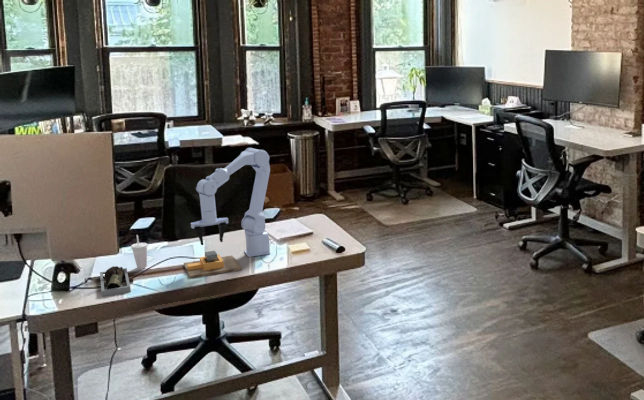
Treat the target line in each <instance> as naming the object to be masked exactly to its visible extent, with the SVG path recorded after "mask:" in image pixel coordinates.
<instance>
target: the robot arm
mask: <svg viewBox="0 0 644 400" xmlns="http://www.w3.org/2000/svg"><path fill="white" fill-rule="evenodd" d="M244 166H251V167H252V169H253V170H254V171H255V177H254V178H255V179H254V183H253V187H252V193H251V198H250V203H249V209H248V210H247V211H246V212H244V217H243V218H242V219H241V225H240V226H241V228H242V229H243V230H244V233H245V246H246V249H245V250H243V252H244V253H245V255H246V256H247V257H248V258H251V257H257V256H263V255H270V254H271V250H270V237H269V234H268V231H266V230H265V229H266V221H265V220H266V216H265V214H264V212H263V209H264V205H265V204H264V203H265V199H266V193H267V191H268V190H267V189H268V183H269V178H270V174H271V165H270V155H269V153H268V152H267V151H266V150H264V149H257V148H253V147H247V148H245V150H244V151H243V150H242V151H241V152H240V154H239V155H238V156H237V157H236V158H235V159H233V161H232V162H230V163H229V164H227V165H226V166H225V167H224V168H222V167H220V168H219V167H217V168H216V169H215V171H214V172H213V173H211V174H210V175H208V176H206V177H205V179H204V178H203V179H201V180H199V181H198V182H197V184H196V187H195V191H196V192H197V193H198V194H199V202H200V204H199V205H200V213H201V214H200V215H201V219H200V220H197V221H194V222H190V228H191V229H194V231H195V232H196V235H197V236H198V239H199V242H200V245H201V246H204V240H203V229H202V227H209V226H214V225H215V226H216V225H217V226H218V234H219V237H218V238H219V241H220V243H223V240H224V235H225V233H226V232H225V231H226V229H227V225H228V224H229V218H228V217H219V218H218V217H217V216H218V215H217V207H216V197H215V194H216V193H217V191H218V188H220V187H221V186H223V185H224V184H225V183H227V182H228V181H229V180H230V176H231V175H232V174H234V173H235V172H237V171H238V170H240V169H241V168H242V167H244Z"/></svg>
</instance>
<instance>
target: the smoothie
mask: <svg viewBox="0 0 644 400" xmlns="http://www.w3.org/2000/svg"><path fill="white" fill-rule="evenodd" d="M139 240H140V239H139V235H138V234H136V243H133V244H131V246H130V249H131V250H132V253H133V258H134V261H135V265H136V268H138V269H137V270H144V269H143V268H145V267H148V246H149V245H148V243H147V242H140V241H139ZM145 269H146V268H145Z"/></svg>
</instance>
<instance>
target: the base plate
mask: <svg viewBox="0 0 644 400" xmlns="http://www.w3.org/2000/svg"><path fill="white" fill-rule="evenodd" d="M220 257H221V258H222V260H223V262H224V267H222V268H216V269H210V270H204V269H203V268H200V269H194V270H188V268H187V264H192V263H199V262H200V260H195V261H187V262H183V266H184V265H185V267H184V268H185V269H184V270H185V271H186V273H187V276H188V277H189V279H195V278H201V277H206V276H207V277H208V276H213V275H219V274H225V273H231V272H232V273H233V272H238V271H242V267H241V265H240V264H239V262H238V261H237V259H236V258H235V257H234V256H233V255H232V254H231V255H226V256H220Z"/></svg>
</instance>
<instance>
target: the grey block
mask: <svg viewBox="0 0 644 400" xmlns="http://www.w3.org/2000/svg"><path fill="white" fill-rule="evenodd" d="M217 253H218V252H216V250H210V251H205V252H204V257H205V262H206V263H209V262H215V261H218V259H217V255H218V254H217Z"/></svg>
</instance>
